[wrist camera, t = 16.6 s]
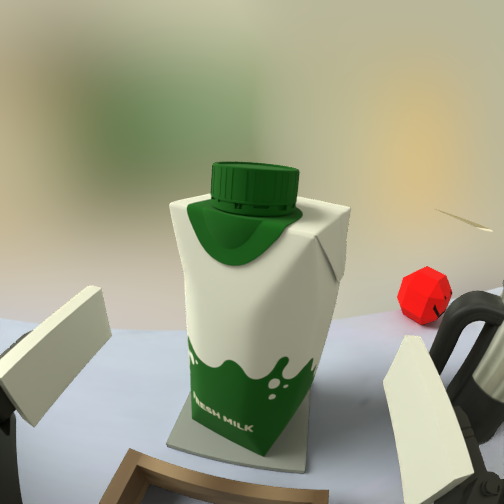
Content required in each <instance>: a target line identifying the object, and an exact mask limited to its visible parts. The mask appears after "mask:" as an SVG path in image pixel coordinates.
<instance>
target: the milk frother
mask: <svg viewBox="0 0 504 504" xmlns="http://www.w3.org/2000/svg"><path fill="white" fill-rule="evenodd" d="M503 286H504V280H503ZM475 321H485V324H484V327H483V329H482V330H481V332H480V334H479V336H478V338H477V340H476V342H475V344H474V345H473V347H472V349H471V351H470V353H469V354H468V356H467V358H466V359H465V361H464V363H463V364H462V366H461V367H460V369H459V371H458V372H457V374H456V375H455V377H454V378H453V380H452V381H451V383H450V384H449V386H448V388H447V390H446V393H447V395H448V397H449V400H450V402H451V405H452V407H453V406H460V407H461V409H462V410H463V411H464V412H465V413H466V415H467V416H468V419H469V421H470V424H471V428H472V429H473V432H474V437H476V440H477V443H478V444H481V443H484V442H486V441H488V440H489V439H490V438H491V437H492V436H493V435H494V433H495V432H496V430H497V428H498V427H499V426H500V425H501V424H502V422H503V421H504V289H503V292H502V294H501V296H497V295H494V294H491V293H487V292H484V291H472V292H468V293H465V294H463V295H461V296H460V297H458V298H457V299H456V300H454V301H453V302H452V303H451V305H450V306H449V307H448V309H447V310H446V312H445V315H444V317H443V320H442V322H441V325H440V327H439V330H438V332H437V335H436V337H435V340H434V342H433V344H432V347H431V349H430V351H429V355H430V357H431V359H432V361H433V363H434V365H435V368H436V370H437V372H438V374H439V376H440V374H441V373H442V371H443V369H444V367H445V365H446V363H447V361H448V359H449V357H450V355H451V353H452V351H453V349H454V347H455V345H456V343H457V341H458V338H459V336H460V334H461V332H462V331H463V329H464V328H465V327H466V326H467V325H468V324H470V323H472V322H475Z"/></svg>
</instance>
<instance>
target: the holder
mask: <svg viewBox="0 0 504 504" xmlns="http://www.w3.org/2000/svg"><path fill="white" fill-rule="evenodd" d="M149 484H152V485H155V486H157V487H160V488H163V489H166V490H169V491H172V492H175V493H178V494H181V495H184V496H188V497H191V498H195V499H198V500H202V501H206V502H210V503H214V504H328V502H329V490H310V489H294V488H282V487H273V486H265V485H258V484H252V483H246V482H240V481H235V480H230V479H225V478H221V477H216V476H212V475H208V474H204V473H200V472H197V471H193V470H189V469H186V468H183V467H179V466H176V465H173V464H170V463H167V462H164V461H161V460H159V459H156V458H153V457H150V456H148V455H145V454H143V453H140V452H138V451H135V450H133V449H130V448H129V450H128V452H127V453H126V455H125V457H124V459H123V461H122V462H121V464H120V466H119V468H118V470H117V471H116V473H115V475H114V477H113V479H112V480H111V482H110V484H109V486H108V488H107V489H106V491H105V493H104V495H103V497H102V498H101V500H100V502H99V504H140V503H141V501H142V499H143V497H144V495H145V492H146V490H147V488H148V486H149Z"/></svg>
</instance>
